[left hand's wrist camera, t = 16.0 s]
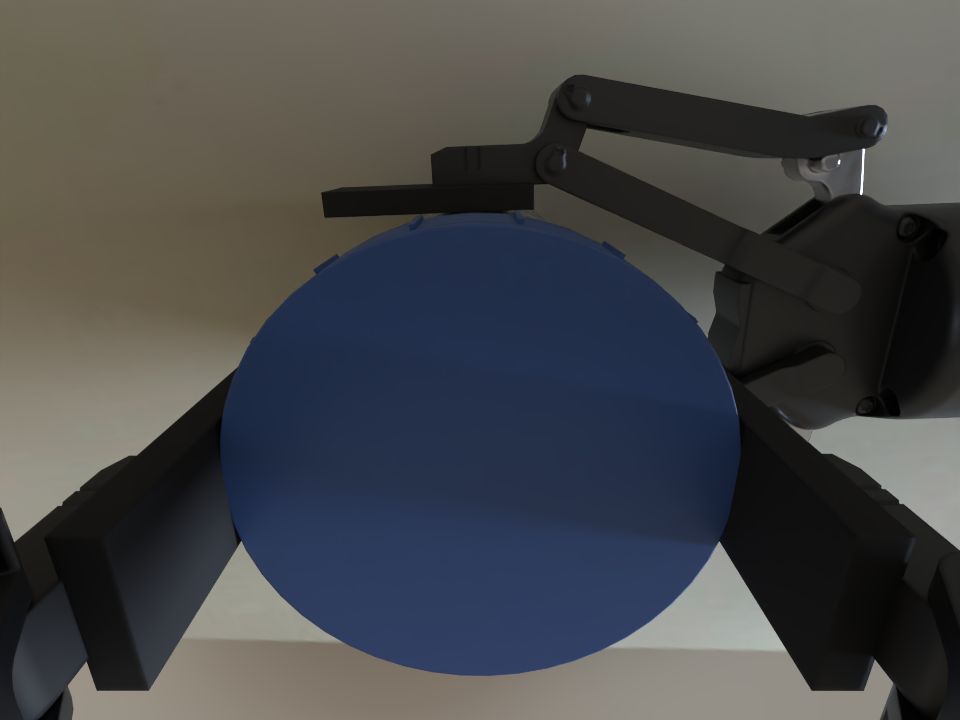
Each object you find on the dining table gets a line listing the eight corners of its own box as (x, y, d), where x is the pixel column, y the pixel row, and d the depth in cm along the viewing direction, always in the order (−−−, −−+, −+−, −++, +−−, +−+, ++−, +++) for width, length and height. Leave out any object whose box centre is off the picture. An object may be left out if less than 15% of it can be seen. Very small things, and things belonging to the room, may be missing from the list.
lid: (517, 89, 10) (526, 74, 8) (789, 463, 12) (842, 516, 10) (161, 412, 12) (105, 457, 10) (458, 668, 14) (455, 740, 13)
